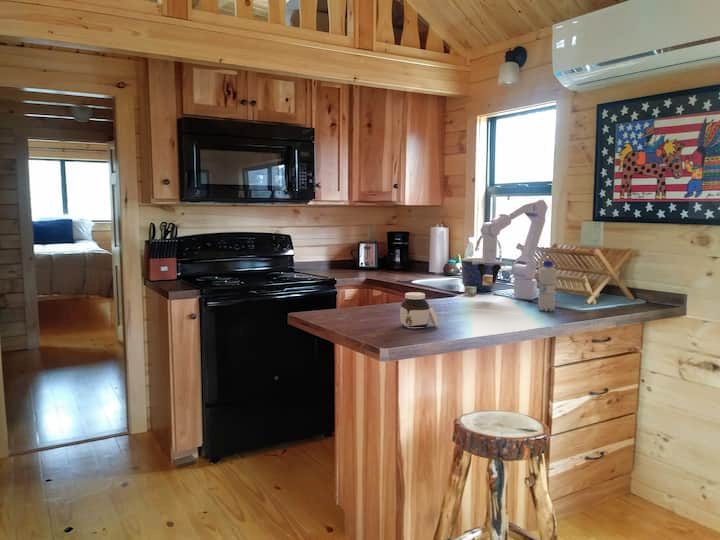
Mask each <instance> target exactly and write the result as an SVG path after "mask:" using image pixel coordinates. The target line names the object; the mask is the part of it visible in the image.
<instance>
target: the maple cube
mask: <svg viewBox="0 0 720 540" xmlns="http://www.w3.org/2000/svg"><path fill="white" fill-rule="evenodd" d="M483 285H487V286H493V285H495V286H496V283H493V275H484V276H483Z"/></svg>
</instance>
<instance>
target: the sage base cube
mask: <svg viewBox="0 0 720 540" xmlns="http://www.w3.org/2000/svg"><path fill="white" fill-rule="evenodd" d="M464 293H465V296H470V297H474V296H476V294H477V292H476V287H473V286H467V287H464Z"/></svg>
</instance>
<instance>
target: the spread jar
mask: <svg viewBox="0 0 720 540" xmlns="http://www.w3.org/2000/svg"><path fill="white" fill-rule="evenodd" d="M399 308H400V309H399V311H400V312H399V314H400V315H399V317H400V319H399V320H400V323H401V325H402V324H403V325H405V326H409V327H425V328H427V326H428V325H429V324H430V323H431V325H432V324H433V325H434V326H435V327H434V328H437V327H436V326H438V327H440V323H439V319H438V316H437V313H436V311H435V310H434V308H433V307H430V304H429V302H428V301H427V300H426V294H425V293H424V292H418V291H417V292H416V291H415V292H413V291H411V292H405V294H404V299H403V300H402V301H401V303H400V307H399ZM403 325H402V326H403ZM433 325H432V326H433Z"/></svg>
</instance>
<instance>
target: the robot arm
mask: <svg viewBox="0 0 720 540" xmlns="http://www.w3.org/2000/svg"><path fill="white" fill-rule="evenodd" d="M548 208H549V207H548V205H547V203H546V201H545V200H544V199H542V198H540V199H529V198H526V199H524V200H522V201H520V203H519V204H518V205H516V206H515V207H513V208H512V209H511V210H510V211H508V212H507V213H506V212H500V213H498V216H496V217H495V218H491V219H490V221H489V222H484V223H483V224H482V226H481V228H480V233H481V234H482V239H483V240H482V258H483V260H472V264H478V266H477V267H478V269H479V272H480V274H481V278H482V282H483V276H484V275H485V272H486V265H494V266H492V270H493V283H495V282H497V278H498V275H499V272H500V270H501V268H502V267H507V266H508V265H507V264H508V261H503V260H498V261H496V260H497V249H498V248H497V247H498V236H499V235H500V233H501V231H502V230H503V229H505V228H506V227H508V226H510V225H511V224H512V221H513V220H514V219H516V218H517V217H520V216H521V215H523V214H525V216H527V218H528V219H529V220H530V226H529V229H528V232H527V235H526V239H525V242H524V245H523V249H522V252H521V255H519V256H518V257H517V258H516V259H515V261H514V263H513V264H512V266H511V268H510V270H511V275H513V278H514V290H513V291H514V294H513V296H511V297H510V298H511V299H520V300H521V299H522V300H532V301H533V300H534V299H536V298H537V297H538V294H537V293H538V281H537V279H534V277H535V275H536V271H537V270H536V269H537V268H536V267H537V262H536V261H535V259H534V258H535V255H536V252H537V249H538V245H539V243H540V238H541V236H542V233H543V229H544V226H545V222H546V214H547V211H548ZM483 263H493V264H483ZM495 284H496V283H495Z"/></svg>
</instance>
